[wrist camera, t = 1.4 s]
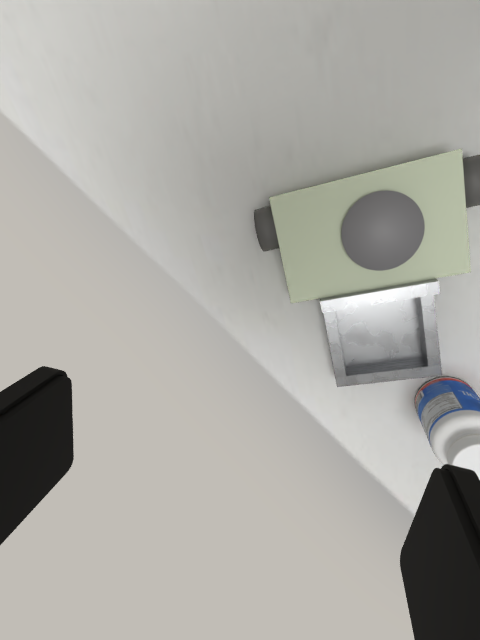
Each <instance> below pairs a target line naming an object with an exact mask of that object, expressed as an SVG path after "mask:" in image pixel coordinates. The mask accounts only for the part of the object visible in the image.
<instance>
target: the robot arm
mask: <svg viewBox="0 0 480 640" xmlns="http://www.w3.org/2000/svg"><path fill="white" fill-rule="evenodd" d="M72 420H73V419H72V384H71V380H70V378H68V377H67V374H66V372H64V371H62V370H58V369H54V368H49V367H45V366H44V367H43V366H42V367H40V368H38V369H37V370H35V371H33V372H32V373H30V374H28V375H27V376H25V377H24V378H22V379H20V380H19V381H17V382H16V383H14V384H12V385H11V386H9V387H8V388H6V389H4V390H3V391H1V392H0V545H1V544H2V543H3V542H4V540H5V539H6V538H7V537H8V536H9V535H10V534H11V533H12V532H13V531H14V530H15V529H16V527H17V526H18V525H19V524H20V523H21V522H22V521H23V520H24V519H25V518H26V517H27V515H28V514H29V513H30V512H31V511H32V510H33V509H34V508H35V507H36V506H37V504H38V503H39V502H40V501H41V500H42V499H43V498H44V497H45V496H46V495H47V494H48V492H49V491H50V490H51V489H52V488H53V487H54V486H55V485H56V484H57V483H58V482H59V481H60V479H61V478H62V477H63V476H64V475H65V474H66V473H67V471H68V470H69V468H70V467H71V465H72V462H73V421H72ZM400 566H401V572H402V577H403V582H404V587H405V592H406V598H407V603H408V608H409V613H410V618H411V623H412V628H413V633H414V638H415V640H480V480H479V478H478V476H477V474H476V473H475V471H473V470H470V469H466V468H462V467H458V466H454V465H450V464H445V465H444V466H442V468H441V469H439V468H435V469H434V470H433V472H432V474H431V477H430V479H429V482H428V484H427V487H426V489H425V492H424V494H423V497H422V499H421V502H420V504H419V507H418V509H417V512H416V515H415V517H414V520H413V522H412V525H411V527H410V530H409V532H408V535H407V537H406V540H405V542H404V545H403V547H402V550H401V555H400Z"/></svg>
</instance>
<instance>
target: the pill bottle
mask: <svg viewBox="0 0 480 640" xmlns="http://www.w3.org/2000/svg"><path fill="white" fill-rule="evenodd" d="M415 408H416V411H417V414H418V416H419V419H420V421H421V423H422V426H423V428H424V431H425V433H426V435H427V438H428V440H429V443H430V445H431V448H432V450H433V452H434V454H435V456H436V457H437V459H438V460H439V461H440V462H441V463H442V464H443V465H445V464H450V465H454V466H458V467H462V468H466V469H470V470H473V471H475V473H476V474H477V476H478V478H479V480H480V398H479V397H478V396H477V394H476V393H475V392H474V390H473V389H472V388H471V387H470V386H469V385H468V384H467V383H465V382H463V381H462V380H459V379H456V378H451V377H442V378H436V379H433V380H431V381H429V382H427V383H426V384H424V385H423V386H422V387H421V388H420V389H419V391H418V393H417V395H416V398H415Z"/></svg>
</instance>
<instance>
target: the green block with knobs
mask: <svg viewBox="0 0 480 640" xmlns="http://www.w3.org/2000/svg"><path fill="white" fill-rule="evenodd" d="M269 199H270V204H271V206H270V207H266V208H262V209H258V210H255V212H254V220H255V228H256V233H257V237H258V240H259V244H260V246H261V249H262V250H263V251H268V250H273V249H277V248H280V253H281V257H282V262H283V267H284V272H285V277H286V282H287V287H288V291H289V296H290V301H291V303H297V302H302V301H308V300H314V299H320V298H325V297H331V296H337V295H343V294H348V293H354V292H360V291H366V290H371V289H377V288H383V287H389V286H394V285H400V284H406V283H412V282H417V281H423V280H429V279H435V278H440V277H446V276H452V275H458V274H463V273H469V272H471V269H470V255H469V241H468V227H467V213H466V208H468V207H472V206H477V205H480V155H476V156H472V157H468V158H464V159H463V157H462V149H458V150H454V151H450V152H446V153H442V154H438V155H434V156H430V157H426V158H422V159H418V160H414V161H411V162H407V163H403V164H399V165H395V166H391V167H387V168H383V169H379V170H375V171H371V172H367V173H363V174H359V175H355V176H351V177H347V178H344V179H340V180H336V181H332V182H328V183H324V184H320V185H316V186H312V187H308V188H304V189H300V190H296V191H292V192H288V193H284V194H280V195H277V196H273V197H269Z"/></svg>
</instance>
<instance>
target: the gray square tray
mask: <svg viewBox="0 0 480 640" xmlns="http://www.w3.org/2000/svg"><path fill="white" fill-rule="evenodd" d="M435 294H440V287H439V281H438V280H437V279H436V278H435V279H429V280H423V281H417V282H412V283H406V284H400V285H394V286H389V287H383V288H377V289H371V290H366V291H360V292H354V293H348V294H343V295H337V296H331V297H325V298H320V305H321V310H322V313H323V314H324V319H325V324H326V330H327V335H328V341H329V346H330V352H331V357H332V363H333V368H334V373H335V379H336V384H337V387H341V386H350V385H359V384H368V383H377V382H387V381H396V380H405V379H414V378H423V377H432V376H441V375H442V371H441V361H440V351H439V341H438V331H437V321H436V311H435V301H434V295H435Z"/></svg>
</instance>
